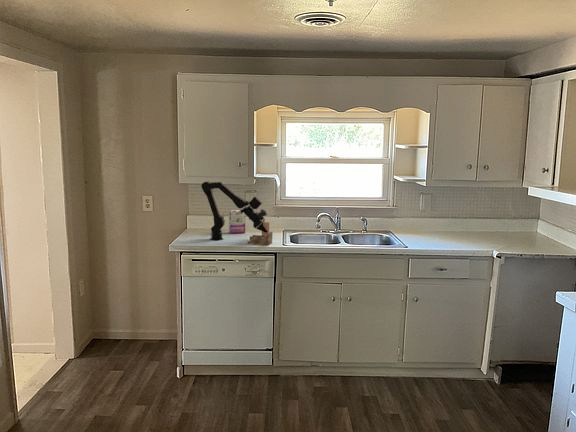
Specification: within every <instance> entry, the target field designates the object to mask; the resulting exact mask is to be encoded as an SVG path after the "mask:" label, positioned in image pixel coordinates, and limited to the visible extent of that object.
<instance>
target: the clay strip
mask: <svg viewBox="0 0 576 432" xmlns="http://www.w3.org/2000/svg"><path fill="white" fill-rule="evenodd" d="M262 222H263V226H264V227H265V229H266V230H267V233H269V232H271V231H270V228H271V221H266V220H265V221H262ZM267 233H265V232H263V231H261V236H267Z"/></svg>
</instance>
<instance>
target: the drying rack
mask: <svg viewBox="0 0 576 432" xmlns="http://www.w3.org/2000/svg"><path fill="white" fill-rule="evenodd" d="M247 244H248V245H258V246H259V245H260V246H270V245H271V244H273V231H270V232H269V233H267V236H262V234H261V235H259V234H258V235H257V234H252V235H250V236H249V241H247Z"/></svg>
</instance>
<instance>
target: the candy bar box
mask: <svg viewBox="0 0 576 432" xmlns="http://www.w3.org/2000/svg"><path fill="white" fill-rule="evenodd" d="M240 210H241V209H237V210H234V209H231V210H228V234H230V235H233V234H234V235H237V234H246V214H245V213H244V212H243V213H242V214H240V213H241V211H240Z"/></svg>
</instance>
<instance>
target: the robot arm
mask: <svg viewBox="0 0 576 432" xmlns="http://www.w3.org/2000/svg"><path fill="white" fill-rule="evenodd" d="M200 187H201V189H202V191H203V193H204V194H205V196H206V198H207V200H208V201H207V202H208V204H209V207H210V209H211V212H212V216H213V226H212V227H210V230H211V233H210V235H211V237H210V238H209V240H212V241H221V240H224V237H223V233H222V229H223V227H224V226H225V222H226V219H225V217H224V215H221V214H220V211H219V208H218V206H217V202H216V200H215V197H214V194H213V193H214V190H213V189H219V190H220V191H221V192H222V193H223V194H224V195H226V196H227V198H229V199H230V200H231V201H232V202H233V204H234V206H236V207H237V209H239V210H240V211H241V213H240V214H242V213H243V212H244V213H245V216H246V217H247V218H248V220H250V221H251V222H253V224H252V227H253V228H254V229H256V230H259V231H261V232H262V231H263V232H265V233H267V230H266V229H265V227H264V226H263V222H262V221H266V219H265V217H266V216H267V215H268V213H267V210H266V209H263V208H262V209H260V211H259V212H257V211H255V210H257V209H258V208H259V207H260V206H261V205H262V204H263V202H262V201H261V200H260V199H259V198H258V197H256V196H253V198H252V199H251V200H245V199H243V198H242V197H241V196H238V195H236V194H235V193H234V192H233V191H232V190H230V189H229V187H227V186H226V185H225V184H224V183H223V182H222V181H215V182H213V181H212V182H210V181H207V180H206V181H204V182H203V183H202V184H201V186H200Z"/></svg>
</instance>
